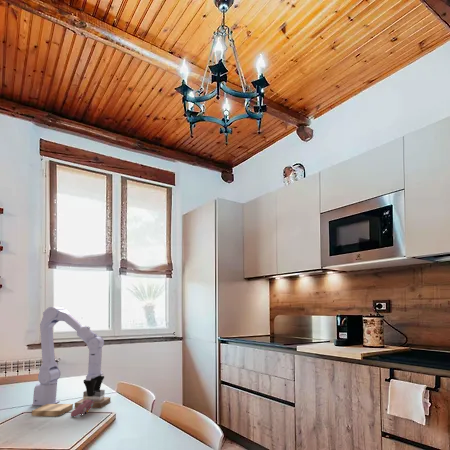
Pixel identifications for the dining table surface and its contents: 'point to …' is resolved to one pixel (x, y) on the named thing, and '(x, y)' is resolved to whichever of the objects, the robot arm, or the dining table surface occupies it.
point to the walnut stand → (96, 403)
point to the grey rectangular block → (94, 395)
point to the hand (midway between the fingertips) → (93, 394)
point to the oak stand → (52, 409)
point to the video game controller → (83, 407)
